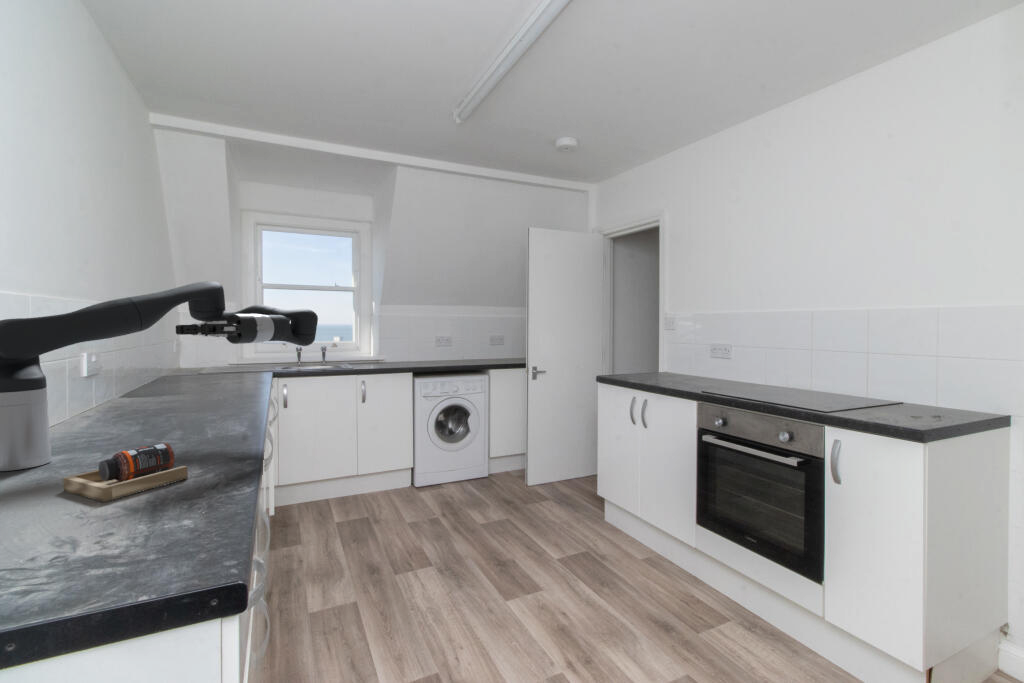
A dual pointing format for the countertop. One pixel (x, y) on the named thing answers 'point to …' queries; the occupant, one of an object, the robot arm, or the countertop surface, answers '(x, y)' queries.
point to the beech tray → (119, 484)
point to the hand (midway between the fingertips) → (177, 329)
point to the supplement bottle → (137, 462)
